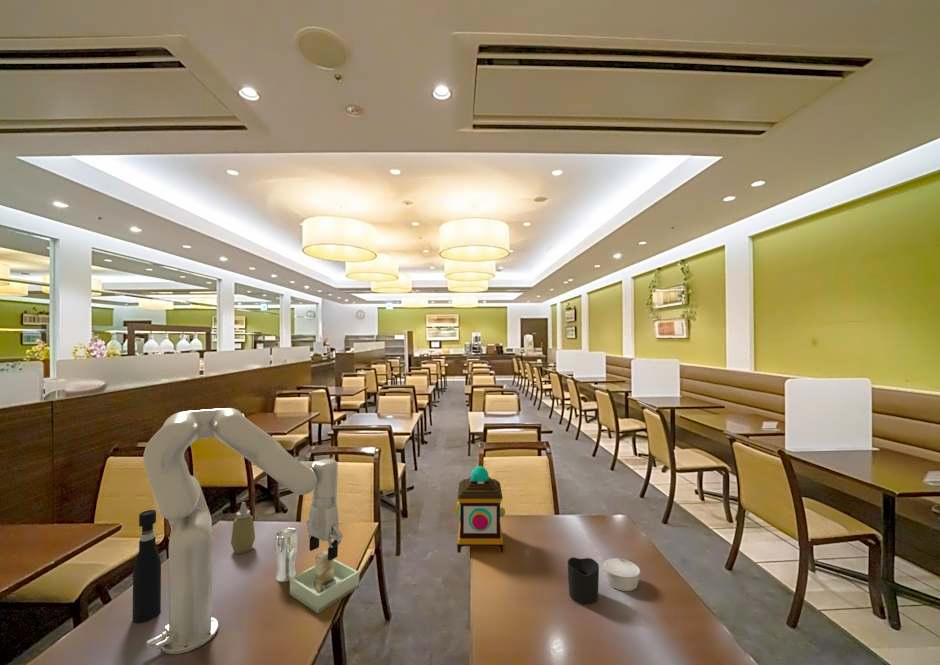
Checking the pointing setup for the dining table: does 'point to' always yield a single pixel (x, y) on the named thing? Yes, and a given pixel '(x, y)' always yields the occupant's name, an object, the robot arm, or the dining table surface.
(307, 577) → the pale green prong tray
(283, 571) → the metal tumbler
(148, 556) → the wine bottle
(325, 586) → the wick clip
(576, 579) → the pen holder
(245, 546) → the squeeze bottle
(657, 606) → the dining table surface
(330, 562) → the upright wooden plank
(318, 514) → the robot arm
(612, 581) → the ramekin
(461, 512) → the decorative lantern
